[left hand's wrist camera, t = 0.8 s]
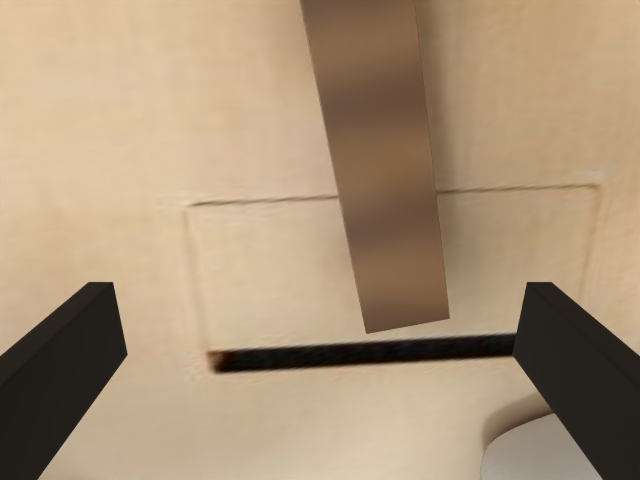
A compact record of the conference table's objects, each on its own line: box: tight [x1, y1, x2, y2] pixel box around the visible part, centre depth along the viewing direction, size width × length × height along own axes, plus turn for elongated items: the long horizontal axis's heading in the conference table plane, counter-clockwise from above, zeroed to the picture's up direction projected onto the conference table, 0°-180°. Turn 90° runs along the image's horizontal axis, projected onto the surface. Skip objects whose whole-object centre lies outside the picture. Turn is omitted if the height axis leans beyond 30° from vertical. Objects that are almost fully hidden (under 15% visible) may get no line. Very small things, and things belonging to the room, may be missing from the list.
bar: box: [300, 0, 450, 334], centre depth 25 cm, size 25×5×9 cm, turn 12°
